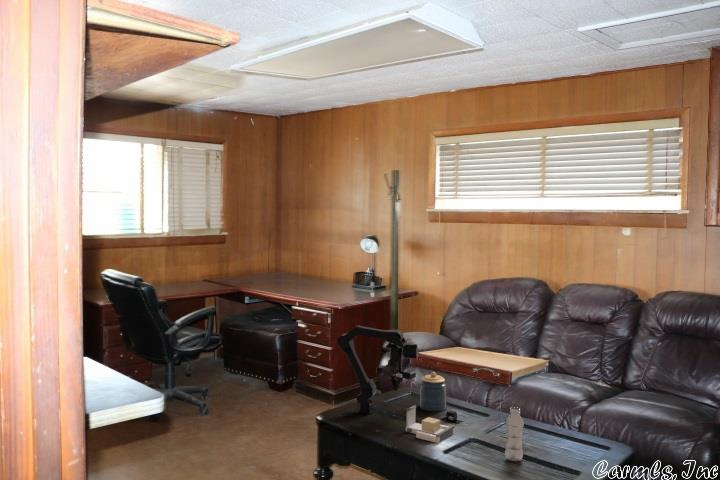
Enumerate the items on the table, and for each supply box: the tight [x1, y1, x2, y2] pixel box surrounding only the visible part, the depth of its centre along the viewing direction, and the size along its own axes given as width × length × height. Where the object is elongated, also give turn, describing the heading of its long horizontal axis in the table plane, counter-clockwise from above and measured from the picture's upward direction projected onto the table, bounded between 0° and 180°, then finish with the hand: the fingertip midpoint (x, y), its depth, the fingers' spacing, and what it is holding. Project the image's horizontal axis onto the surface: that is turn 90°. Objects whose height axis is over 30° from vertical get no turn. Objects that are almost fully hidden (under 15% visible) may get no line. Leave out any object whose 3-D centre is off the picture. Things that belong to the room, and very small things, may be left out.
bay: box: [415, 424, 455, 444], centre depth 255 cm, size 10×14×3 cm
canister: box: [419, 371, 448, 412], centre depth 293 cm, size 13×13×18 cm
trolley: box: [405, 404, 445, 436], centre depth 258 cm, size 16×9×10 cm, turn 55°
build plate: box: [439, 410, 464, 425], centre depth 275 cm, size 12×7×5 cm, turn 51°
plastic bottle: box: [504, 406, 525, 462], centre depth 229 cm, size 6×7×20 cm
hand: (395, 390), depth 279 cm, fingers closed
